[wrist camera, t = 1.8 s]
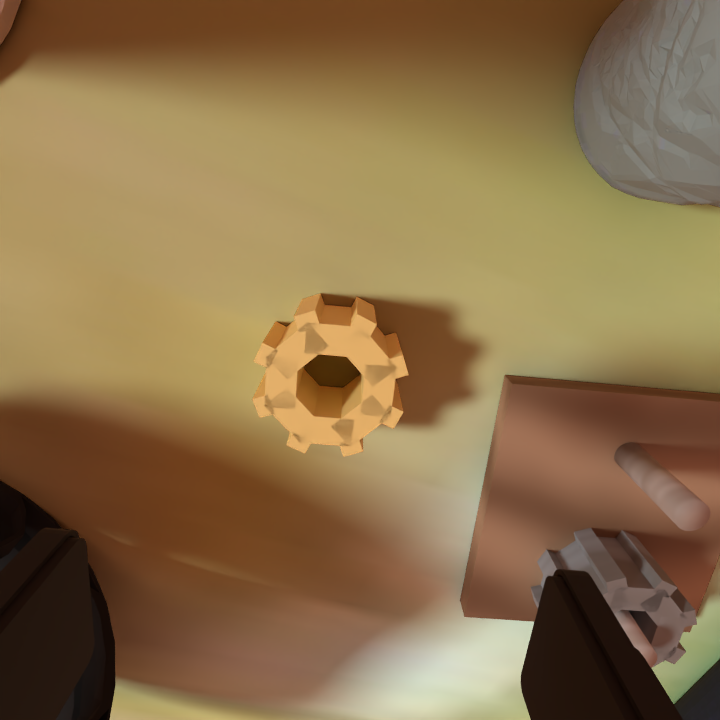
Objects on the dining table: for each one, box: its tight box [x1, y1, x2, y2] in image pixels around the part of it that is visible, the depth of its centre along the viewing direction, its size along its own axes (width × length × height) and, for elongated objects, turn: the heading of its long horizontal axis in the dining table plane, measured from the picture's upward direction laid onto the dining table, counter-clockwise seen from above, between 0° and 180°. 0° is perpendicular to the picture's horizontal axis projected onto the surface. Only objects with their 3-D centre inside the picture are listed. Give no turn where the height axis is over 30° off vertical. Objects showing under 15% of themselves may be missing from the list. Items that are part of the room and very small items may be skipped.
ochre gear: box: [252, 293, 409, 457], centre depth 23 cm, size 6×6×4 cm
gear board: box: [460, 375, 720, 668], centre depth 24 cm, size 14×13×6 cm
